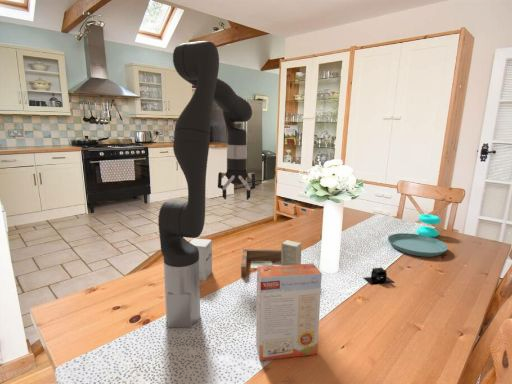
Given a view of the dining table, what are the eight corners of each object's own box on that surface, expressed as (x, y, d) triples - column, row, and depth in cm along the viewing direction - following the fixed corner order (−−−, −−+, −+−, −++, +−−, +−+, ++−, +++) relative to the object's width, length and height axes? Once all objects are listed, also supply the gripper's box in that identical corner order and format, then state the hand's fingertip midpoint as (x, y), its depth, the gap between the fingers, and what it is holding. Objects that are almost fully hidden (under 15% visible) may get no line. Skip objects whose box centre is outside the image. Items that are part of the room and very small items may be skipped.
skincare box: (300, 274, 111) (302, 243, 108) (295, 278, 107) (296, 246, 105) (285, 269, 114) (287, 239, 112) (279, 274, 111) (281, 242, 108)
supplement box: (205, 281, 104) (205, 246, 102) (185, 278, 106) (184, 244, 103) (212, 271, 111) (212, 239, 109) (194, 269, 113) (193, 237, 110)
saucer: (398, 235, 155) (398, 229, 155) (452, 249, 139) (453, 242, 138) (378, 248, 138) (379, 241, 138) (438, 264, 122) (439, 257, 121)
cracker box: (309, 338, 77) (314, 262, 72) (317, 355, 71) (323, 273, 67) (254, 343, 74) (256, 264, 70) (258, 361, 69) (260, 277, 64)
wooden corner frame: (294, 278, 108) (295, 267, 107) (241, 277, 108) (241, 266, 107) (289, 259, 124) (290, 250, 123) (242, 258, 123) (243, 249, 123)
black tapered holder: (368, 288, 103) (369, 275, 102) (356, 278, 110) (358, 266, 109) (399, 284, 106) (401, 272, 105) (386, 275, 113) (388, 263, 112)
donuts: (414, 213, 159) (430, 213, 161) (412, 232, 161) (427, 230, 163) (429, 219, 149) (445, 218, 152) (426, 238, 151) (443, 237, 154)
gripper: (216, 157, 109) (217, 201, 112) (256, 158, 110) (255, 201, 113) (218, 156, 117) (218, 197, 120) (255, 156, 117) (254, 197, 120)
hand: (236, 199), depth 116 cm, fingers open, 8 cm apart
